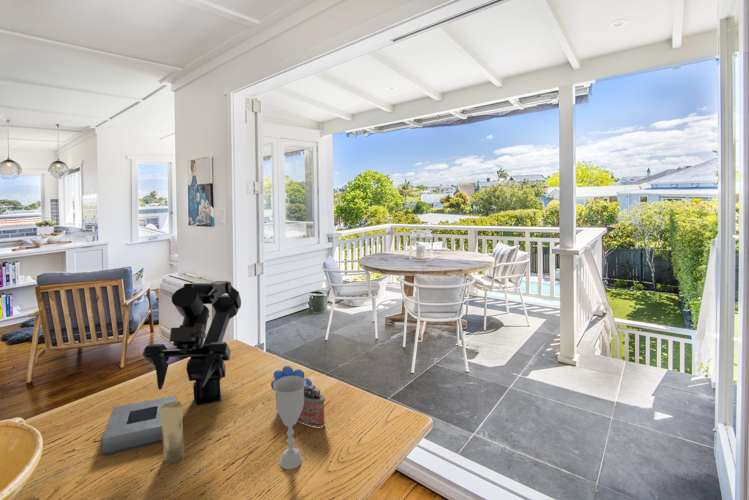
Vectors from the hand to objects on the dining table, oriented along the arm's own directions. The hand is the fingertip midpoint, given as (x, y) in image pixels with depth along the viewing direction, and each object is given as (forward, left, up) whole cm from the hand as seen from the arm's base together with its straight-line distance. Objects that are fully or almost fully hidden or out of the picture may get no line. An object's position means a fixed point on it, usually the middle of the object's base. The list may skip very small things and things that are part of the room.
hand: (180, 388), depth 87 cm
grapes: (-26, -2, -13) cm, 29 cm away
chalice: (-21, +18, -13) cm, 31 cm away
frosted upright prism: (+2, +6, -13) cm, 14 cm away
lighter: (-29, +6, -13) cm, 33 cm away
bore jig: (+9, -8, -13) cm, 18 cm away
